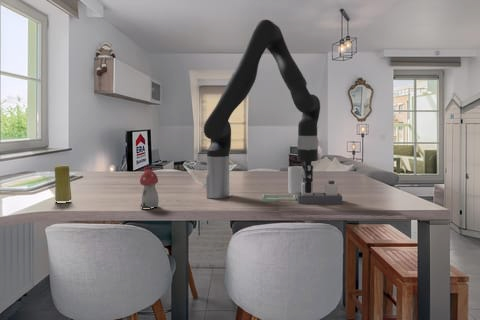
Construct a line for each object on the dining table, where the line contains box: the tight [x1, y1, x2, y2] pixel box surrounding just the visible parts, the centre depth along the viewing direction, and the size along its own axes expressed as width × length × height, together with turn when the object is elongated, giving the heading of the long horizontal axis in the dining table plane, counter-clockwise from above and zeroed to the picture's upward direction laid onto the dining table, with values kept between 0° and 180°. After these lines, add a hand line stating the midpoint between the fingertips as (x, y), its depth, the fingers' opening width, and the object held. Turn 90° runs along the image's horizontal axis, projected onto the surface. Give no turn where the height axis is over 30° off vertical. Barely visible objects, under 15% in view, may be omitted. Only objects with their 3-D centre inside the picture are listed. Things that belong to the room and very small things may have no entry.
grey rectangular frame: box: [296, 192, 343, 205], centre depth 149 cm, size 16×7×4 cm, turn 86°
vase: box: [54, 165, 73, 201], centre depth 156 cm, size 6×6×14 cm
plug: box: [301, 180, 314, 196], centre depth 149 cm, size 4×4×8 cm
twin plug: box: [324, 180, 339, 196], centre depth 148 cm, size 4×4×8 cm
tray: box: [261, 194, 297, 203], centre depth 157 cm, size 13×9×2 cm
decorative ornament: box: [139, 166, 160, 208], centre depth 145 cm, size 9×6×15 cm
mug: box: [287, 165, 303, 195], centre depth 171 cm, size 10×7×12 cm, turn 167°
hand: (307, 190), depth 149 cm, fingers open, 8 cm apart
